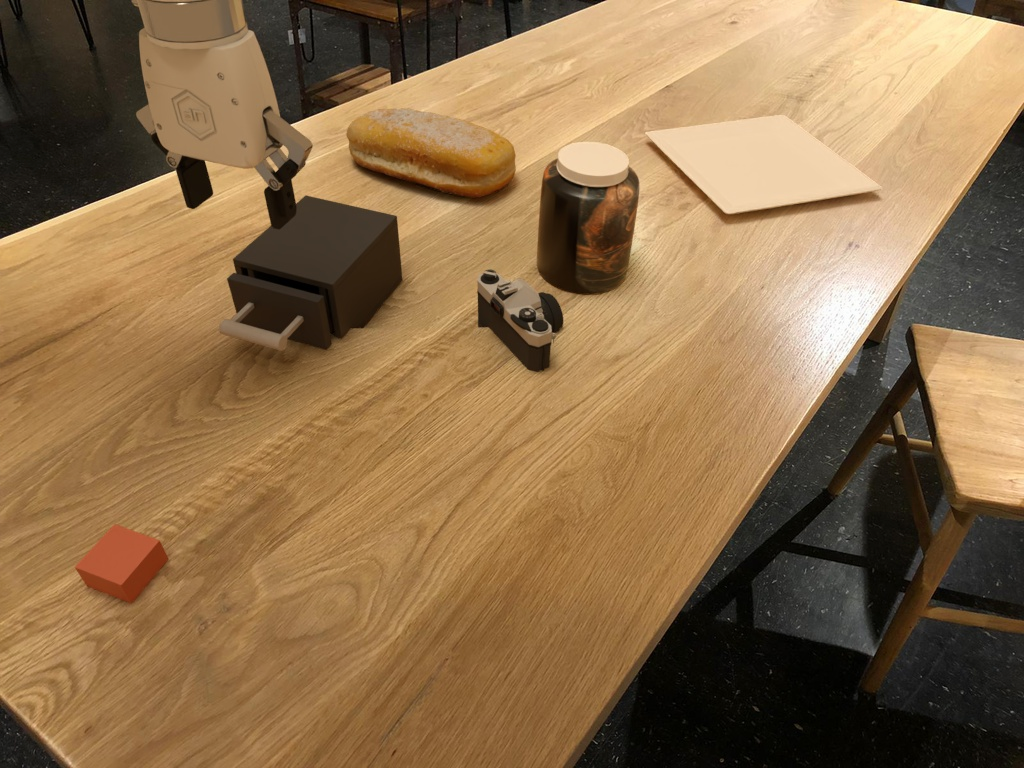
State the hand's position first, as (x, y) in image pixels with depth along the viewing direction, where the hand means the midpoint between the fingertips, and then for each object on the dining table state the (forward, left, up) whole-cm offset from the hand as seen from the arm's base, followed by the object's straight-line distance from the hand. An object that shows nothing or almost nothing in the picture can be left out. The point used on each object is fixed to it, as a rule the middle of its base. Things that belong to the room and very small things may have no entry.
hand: (242, 211), depth 71 cm
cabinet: (+4, +10, -18) cm, 21 cm away
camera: (+27, +2, -18) cm, 33 cm away
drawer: (+2, +5, -17) cm, 18 cm away
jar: (+35, +17, -18) cm, 43 cm away
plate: (+65, +43, -18) cm, 80 cm away
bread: (+15, +42, -18) cm, 48 cm away
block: (-7, -28, -18) cm, 34 cm away
